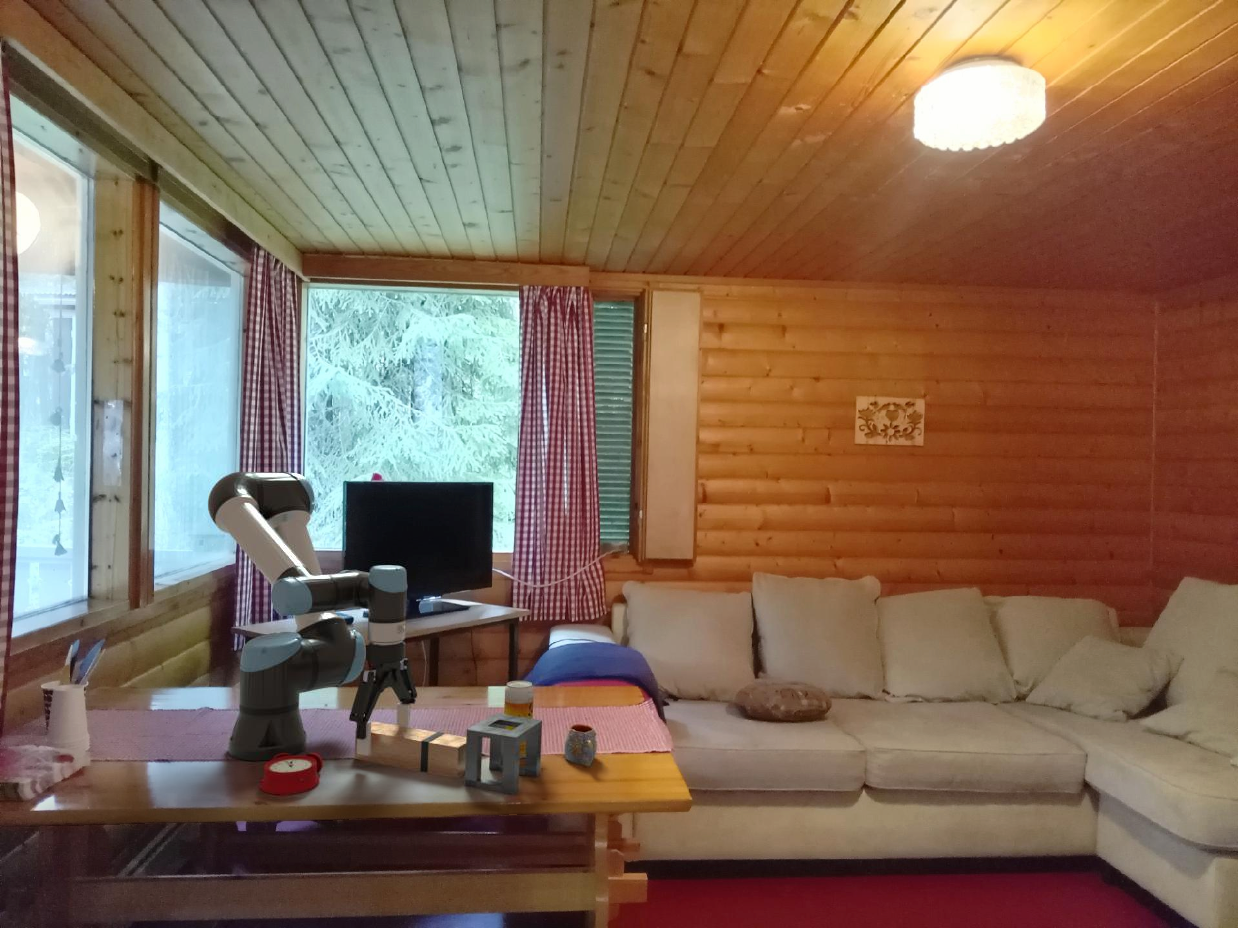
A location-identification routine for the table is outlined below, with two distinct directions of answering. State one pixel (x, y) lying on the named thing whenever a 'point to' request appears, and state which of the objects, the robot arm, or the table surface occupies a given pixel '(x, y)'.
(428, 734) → the banded wooden beam
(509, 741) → the collar block
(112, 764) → the table surface
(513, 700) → the yellow can
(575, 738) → the mug
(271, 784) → the alarm clock
